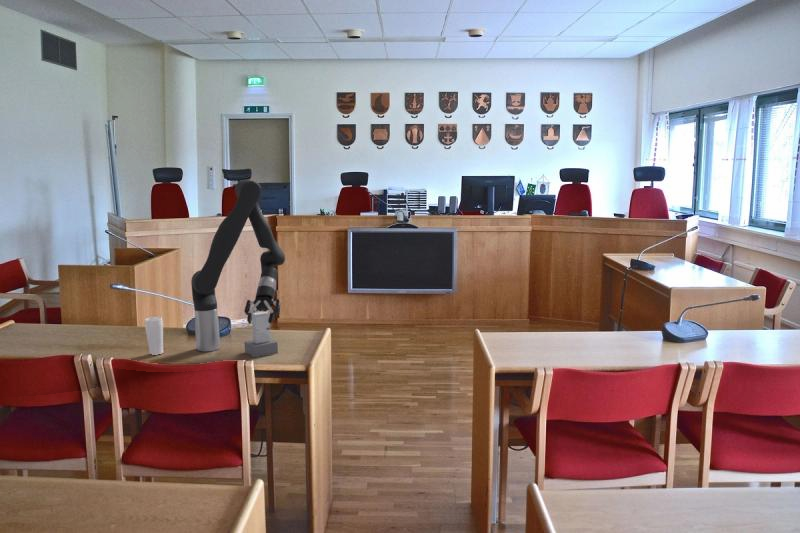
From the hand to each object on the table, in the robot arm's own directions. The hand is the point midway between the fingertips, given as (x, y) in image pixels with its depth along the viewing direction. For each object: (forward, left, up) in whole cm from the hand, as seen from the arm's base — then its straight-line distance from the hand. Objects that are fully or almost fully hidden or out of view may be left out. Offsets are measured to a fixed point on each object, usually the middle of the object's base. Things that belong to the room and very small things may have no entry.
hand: (259, 322), depth 266 cm
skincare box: (0, 0, -8) cm, 8 cm away
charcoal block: (0, 0, -13) cm, 13 cm away
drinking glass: (-35, -26, -13) cm, 46 cm away
